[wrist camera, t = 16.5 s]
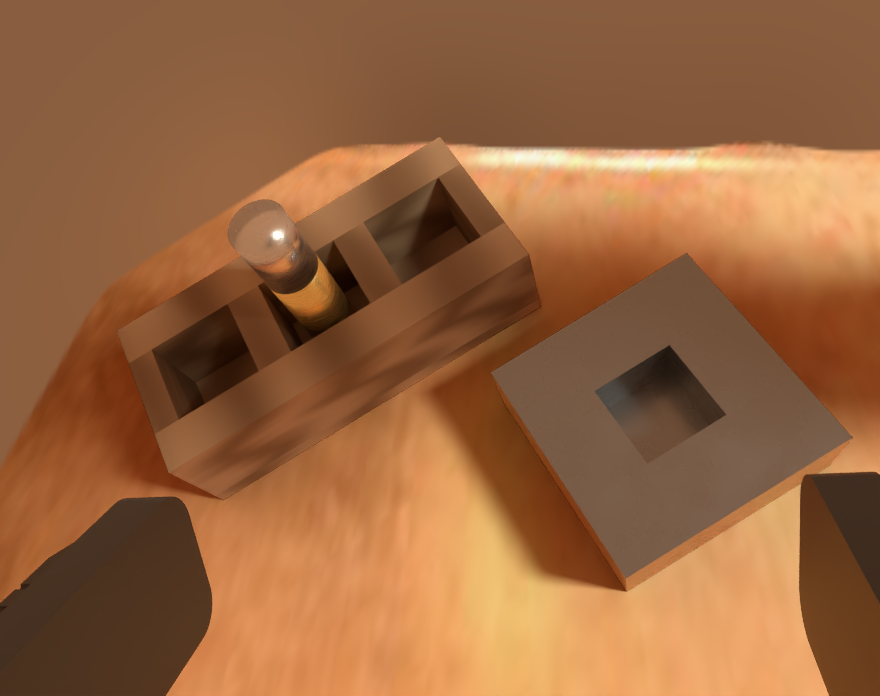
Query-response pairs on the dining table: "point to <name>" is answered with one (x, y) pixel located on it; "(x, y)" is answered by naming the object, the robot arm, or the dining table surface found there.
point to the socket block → (666, 419)
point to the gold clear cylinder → (288, 265)
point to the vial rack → (340, 347)
